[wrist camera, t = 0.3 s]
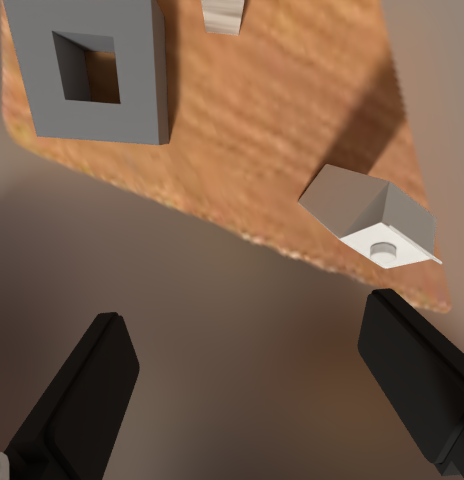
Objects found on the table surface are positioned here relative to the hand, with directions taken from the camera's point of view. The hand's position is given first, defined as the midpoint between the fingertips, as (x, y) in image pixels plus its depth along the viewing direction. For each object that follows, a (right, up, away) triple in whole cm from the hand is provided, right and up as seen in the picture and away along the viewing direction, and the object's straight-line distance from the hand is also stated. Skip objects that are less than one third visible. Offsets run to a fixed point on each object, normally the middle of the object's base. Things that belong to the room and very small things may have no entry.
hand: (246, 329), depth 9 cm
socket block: (-16, +24, +21) cm, 36 cm away
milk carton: (+15, +11, +29) cm, 34 cm away
